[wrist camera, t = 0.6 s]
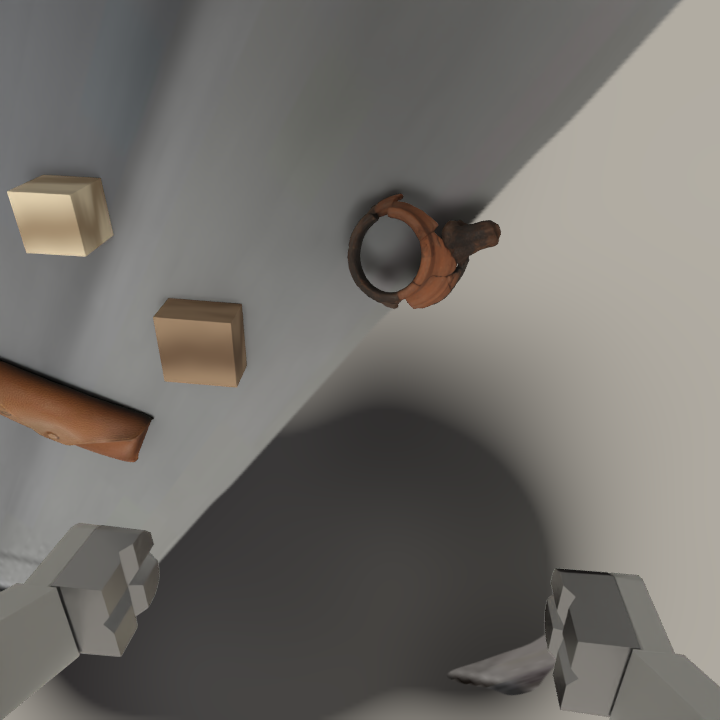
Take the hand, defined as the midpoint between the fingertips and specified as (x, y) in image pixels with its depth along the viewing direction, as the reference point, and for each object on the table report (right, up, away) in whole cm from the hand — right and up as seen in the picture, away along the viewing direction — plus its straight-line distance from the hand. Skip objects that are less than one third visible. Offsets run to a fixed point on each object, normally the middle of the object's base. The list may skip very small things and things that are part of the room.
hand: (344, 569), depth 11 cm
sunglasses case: (-32, -1, +50) cm, 59 cm away
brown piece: (+6, +15, +36) cm, 39 cm away
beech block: (-24, +18, +36) cm, 47 cm away
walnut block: (-14, +7, +43) cm, 46 cm away
